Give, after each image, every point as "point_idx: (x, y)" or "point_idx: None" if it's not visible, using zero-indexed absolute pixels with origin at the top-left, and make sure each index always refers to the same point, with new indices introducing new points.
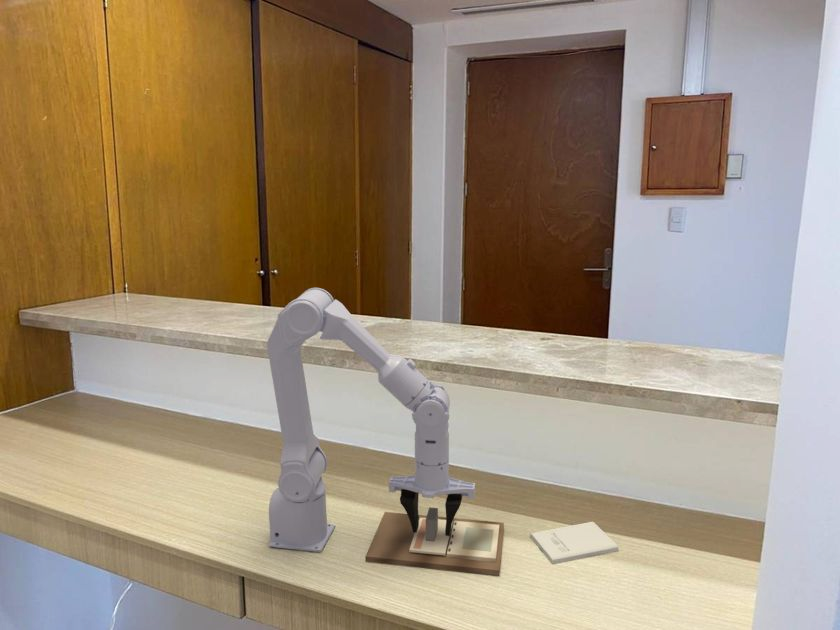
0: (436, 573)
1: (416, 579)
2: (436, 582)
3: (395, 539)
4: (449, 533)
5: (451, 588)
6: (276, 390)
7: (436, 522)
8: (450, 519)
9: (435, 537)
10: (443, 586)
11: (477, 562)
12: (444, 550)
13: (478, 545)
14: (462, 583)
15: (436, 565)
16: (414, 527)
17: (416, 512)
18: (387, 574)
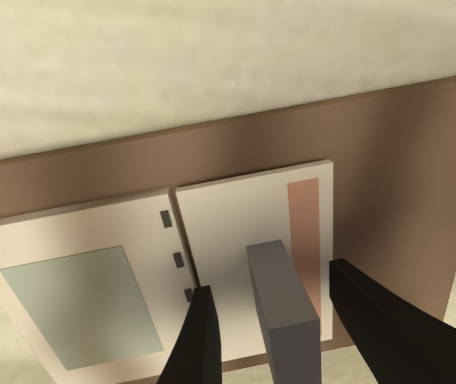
0: (184, 98)
1: (252, 24)
2: (160, 33)
3: (392, 218)
4: (192, 296)
5: (76, 11)
6: None
7: (263, 330)
8: (178, 365)
9: (249, 269)
10: (118, 13)
11: (34, 199)
12: (185, 209)
13: (67, 282)
14: (49, 68)
15: (194, 128)
16: (350, 272)
17: (378, 350)
18: (383, 15)
